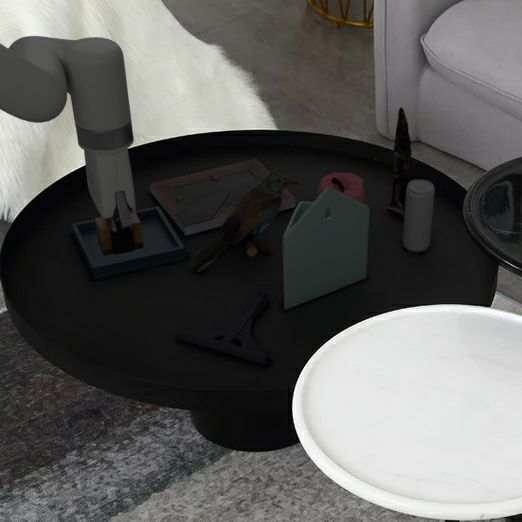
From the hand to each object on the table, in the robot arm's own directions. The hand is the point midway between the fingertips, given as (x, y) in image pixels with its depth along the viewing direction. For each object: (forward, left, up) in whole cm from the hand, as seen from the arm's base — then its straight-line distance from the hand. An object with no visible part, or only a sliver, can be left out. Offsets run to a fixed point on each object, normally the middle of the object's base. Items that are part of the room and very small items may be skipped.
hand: (120, 243), depth 149 cm
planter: (+30, -4, -13) cm, 33 cm away
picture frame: (+25, +26, -13) cm, 39 cm away
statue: (+54, +9, -13) cm, 57 cm away
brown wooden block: (0, 0, 0) cm, 0 cm away
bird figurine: (+23, +8, -13) cm, 28 cm away
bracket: (+15, -11, -13) cm, 23 cm away
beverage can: (+51, -1, -13) cm, 53 cm away
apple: (+42, +11, -13) cm, 46 cm away
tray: (+5, +18, -13) cm, 23 cm away
